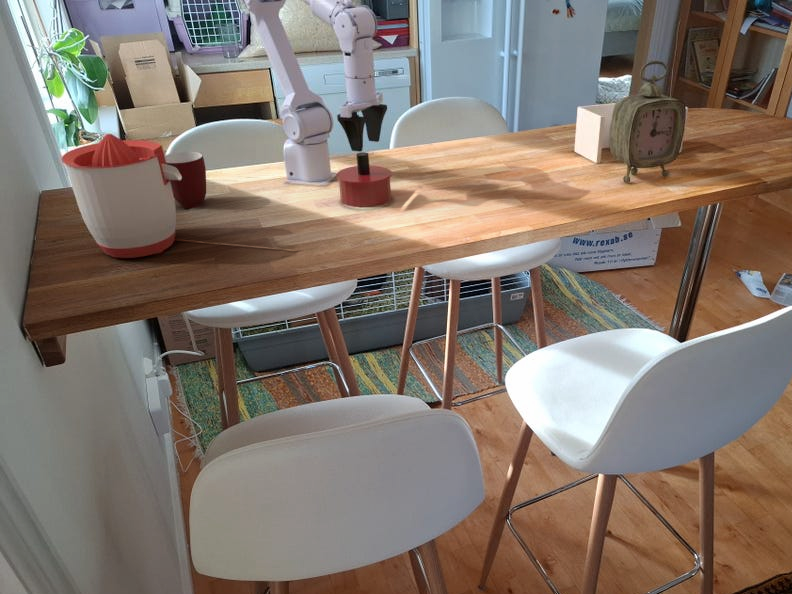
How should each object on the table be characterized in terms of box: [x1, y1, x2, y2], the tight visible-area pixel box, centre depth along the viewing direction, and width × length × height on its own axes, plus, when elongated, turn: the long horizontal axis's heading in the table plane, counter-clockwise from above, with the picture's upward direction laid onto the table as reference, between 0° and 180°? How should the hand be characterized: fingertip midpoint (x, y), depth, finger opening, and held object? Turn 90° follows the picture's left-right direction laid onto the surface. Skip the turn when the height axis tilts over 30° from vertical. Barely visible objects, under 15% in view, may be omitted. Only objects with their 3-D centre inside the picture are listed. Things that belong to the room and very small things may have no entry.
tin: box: [338, 177, 392, 208], centre depth 143 cm, size 10×10×5 cm
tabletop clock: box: [609, 60, 686, 184], centre depth 153 cm, size 14×9×25 cm, turn 114°
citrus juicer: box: [61, 133, 182, 259], centre depth 119 cm, size 16×17×20 cm
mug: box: [164, 151, 207, 210], centre depth 139 cm, size 11×8×10 cm
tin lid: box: [335, 151, 392, 185], centre depth 141 cm, size 11×11×5 cm
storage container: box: [573, 102, 689, 164], centre depth 174 cm, size 25×11×11 cm, turn 113°
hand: (365, 145), depth 143 cm, fingers open, 7 cm apart
